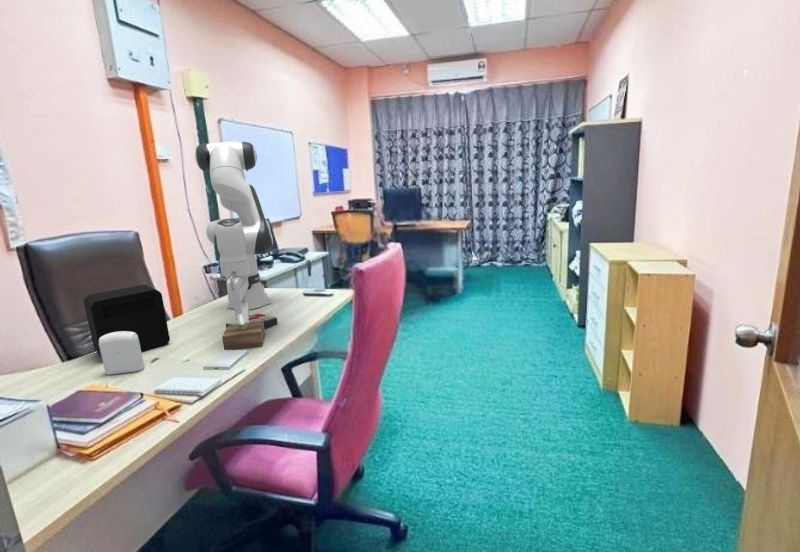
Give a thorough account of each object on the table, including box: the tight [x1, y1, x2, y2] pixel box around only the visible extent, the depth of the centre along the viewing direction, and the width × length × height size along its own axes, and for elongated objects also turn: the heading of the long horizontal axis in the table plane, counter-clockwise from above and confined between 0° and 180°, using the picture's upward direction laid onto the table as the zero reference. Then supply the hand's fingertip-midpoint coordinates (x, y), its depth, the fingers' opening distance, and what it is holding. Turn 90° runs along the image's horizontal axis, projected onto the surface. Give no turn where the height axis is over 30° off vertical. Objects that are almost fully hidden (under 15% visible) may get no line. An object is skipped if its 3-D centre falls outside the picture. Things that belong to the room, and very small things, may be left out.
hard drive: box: [202, 349, 249, 371], centre depth 133 cm, size 2×8×12 cm
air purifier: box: [83, 284, 171, 358], centre depth 146 cm, size 20×15×20 cm
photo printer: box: [99, 331, 145, 376], centre depth 128 cm, size 10×4×12 cm, turn 100°
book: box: [225, 313, 278, 330], centre depth 161 cm, size 11×4×15 cm
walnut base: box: [221, 321, 266, 351], centre depth 147 cm, size 12×12×5 cm
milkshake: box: [233, 302, 249, 330], centre depth 145 cm, size 4×5×10 cm
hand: (241, 309), depth 145 cm, fingers open, 8 cm apart
